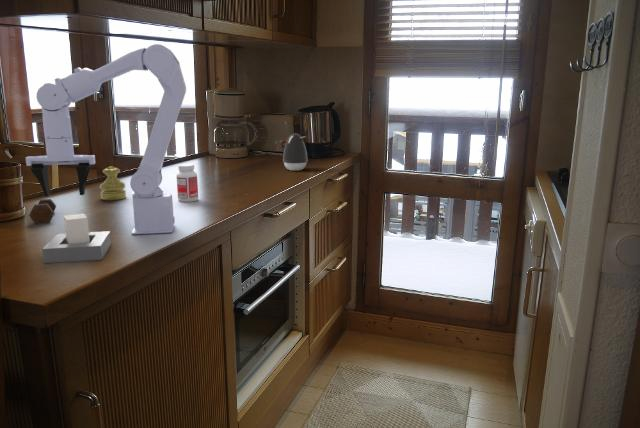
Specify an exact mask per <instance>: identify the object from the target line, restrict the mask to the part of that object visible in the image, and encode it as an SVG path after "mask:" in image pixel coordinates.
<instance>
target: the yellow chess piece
mask: <svg viewBox="0 0 640 428" xmlns="http://www.w3.org/2000/svg"><path fill="white" fill-rule="evenodd" d="M120 172H121V170H120V168H118V167H115V166H113V165H111V166H108V167H106V168H104V169H103V170H102V173H103V174H104V175H106V176H107V177H106V178H105V180H104V182H102V183H100V184H99V188H100V190H101V191H100V199H101V200H103V201H111V202H112V201H118V200H123V199H126V198H127V194H126V193H127V190H126V189H125V188H126V184H125V182H123V181H121V180H120V179H119V178H118V177H117V176H118V174H119V173H120Z"/></svg>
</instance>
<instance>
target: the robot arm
mask: <svg viewBox="0 0 640 428" xmlns="http://www.w3.org/2000/svg"><path fill="white" fill-rule="evenodd" d="M131 71H145V72H146V71H147V72H148V71H150V73H151V74H152V75H153V76H155V77H156V78H157V81H158V82H159V84H160V85H161V88H162V90H163V95H162V98H161V101H160V104H159V107H158V111H157V114H156V116H155V120H154V123H153V125H152V129H151V133H150V135H149V138H148V141H147V143H146V148H145V151H144V154H143V157H142V158H141V162H140V164H139V166H138V169H137V170H136V172H135V173H133V175H132V176H131V177H130V182H129V183H130V188H131V190H132V191H133V192H132V193H131V196H132V207H133V220H134V227H133V229H132V230H131V232H130V233H131V235H147V234H148V235H149V234H166V233H167V234H168V233H171V234H172V233H173V232H174V227H175V223H176V222H175V216H174V203H173V202H174V201H173V194H171V193H168V194H167V193H164V190H162V188H161V187H160V186H161V184H162V181H163V175H162V169H163V165H164V161H165V157H166V153H167V150H168V147H169V145H170V142H171V138H172V135H173V131H174V129H175V126H176V123H177V121H178V117H179V114H180V111H181V107H182V105H183V101H184V99H185V96H186V93H187V85H186V82H185V79H184V75H183V72H182V68H181V64H180V61H179V60H178V58H177V57H176V55H175V54H174V52H173V51H172V50H171V49H169V48H168V47H166V46H164V45H163V44H159V43H158V44H157V43H154V44H150V46H148V47H147V48H146V47H141V48H139V49H136V50H134V51H131V52H128V53H126V54H124V55H122V56H120V57H118V58H117V59H115V60H112V61H110V62H108V63H107V64H104V65H103V66H100V67H99V68H96V69H95V70H93V69H90V68H88V67H84V68H81V67H76V68H74V69H73V73H70V74H68V75H67V76H64V77H57V78H55V79H54V82H55V83H52V82H48V83H44V84H43V85H41V86H40V88H38V90H36V91H37V92H36V100H37V101H36V102H37V103H38V104H39V106H41V113H42V125H43V133H44V134H43V135H44V143H45V150H46V151H45V152H46V155H36V156H33V155H32V156H30V155H29V156H26V157H25V164H26V165H25V166H27V167H30V166H31V168H30V171H31V173H32V174H33V175H34V177H35V178H36V180H37V181H38V183H39V185H40V187H41V189H42V192H43V195H44V197H49V196H50V195H51V188H50V181H49V166H54V165H56V166H58V165H59V166H60V165H63V166H64V165H76V166H75V169H76V174H77V180H78V190H79V191H78V193H79V196H84V195H85V194H86V192H85V191H86V185H87V179H88V176H89V173H90V172H91V171H90V170H91V168H92V165H95V164H96V155H95V154H91V155H90V154H89V155H88V154H75V151H74V141H73V132H72V122H71V116H70V108H69V106H70V105H71V103H73V104H74V103H77V102H79V101H81V100H83V99H85V98H87V97H90V96H91V95H95V94H96V93H98V92H99V91H100V90H101V87H102V85H103V83H106V82H108V81H111V80H113V79H115V78H117V77H120V76H122V75H125V74H127V73H130V72H131Z"/></svg>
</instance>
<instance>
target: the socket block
mask: <svg viewBox="0 0 640 428" xmlns="http://www.w3.org/2000/svg"><path fill="white" fill-rule="evenodd" d="M89 239H90V243H79V244H67V241H66V232H64V233H63V232H62V233H56V235H55V236H53V237H52V239H50V240H49V242H48V243H46V244H45V246H44V247H43V248H42V256H43V263H44V264H50V263H52V264H53V263H67V262H69V263H71V262H86V261H102V260H103V259H104V258H105V256H106V254H107V252H108V251H109V248H110V247H111V245H112V238H111V231H110V230H109V231H89Z"/></svg>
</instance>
